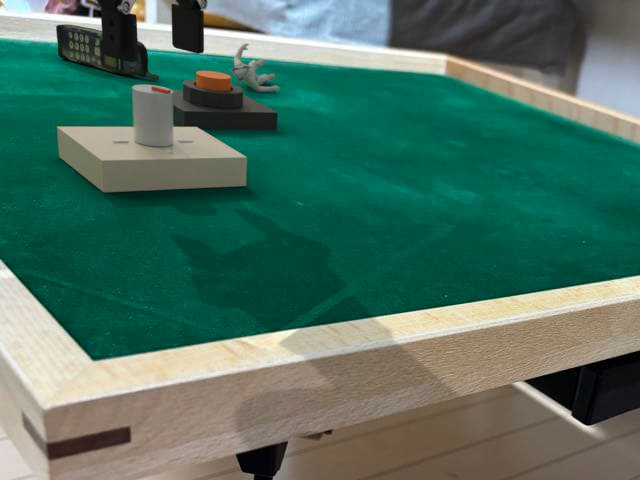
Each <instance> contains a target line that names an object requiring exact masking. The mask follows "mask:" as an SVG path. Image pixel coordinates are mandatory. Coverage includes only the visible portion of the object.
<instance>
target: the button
mask: <svg viewBox="0 0 640 480" xmlns="http://www.w3.org/2000/svg"><path fill="white" fill-rule="evenodd" d="M195 75H196V77H195V79H196V86H197V87H200V88H204V89H209V90H215V91H231V84H232V77H231V75H229V74H227V73H223V72H219V71H212V70H197V71H196V74H195Z"/></svg>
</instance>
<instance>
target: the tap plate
mask: <svg viewBox="0 0 640 480" xmlns="http://www.w3.org/2000/svg"><path fill="white" fill-rule="evenodd" d="M56 130H57V145H58V146H57V147H58V157H59V158H60V159H61V160H62V161H63V162H65V163H66V164H67V165H69V166H70V167H71V168H72V169H73V170H75V172H77V173H78V174H80V176H82V177H84V179H86V180H87V181H88V182H90V183H91V184H92V185H93V186H94V187H96V188H97V189H98V190H100V191H101V192H102V193H105V194H106V193H125V192H126V193H127V192H144V191H146V192H147V191H149V192H150V191H167V190H168V191H169V190H188V189H189V190H191V189H211V188H214V189H215V188H233V187H246V186H247V169H248V168H247V167H248V157H247V156H246V155H244V154H242V153H241V152H239V151H238V150H236V149H234V148H233V147H231V146H229V145H227V144H226V143H224V142H223V141H221V140H219V139H217V138H216V137H214V136H212V135H211V134H209V133H208V132H206V131H205V130H201V129H199V128H198V127H179V126H173V134H174V143H173V145H170V146H164V147H157V146H148V145H143V144H140V143H137V142H135V141H134V132H133V126H56Z"/></svg>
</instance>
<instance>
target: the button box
mask: <svg viewBox="0 0 640 480" xmlns="http://www.w3.org/2000/svg"><path fill="white" fill-rule="evenodd" d="M171 90H172V91H173V125H176V126H177V127H198V128H199V129H201V130H203V131H237V130H238V131H277V130H278V117H279V116H278V114H279V113H278V112H277V111H275V110H274V109H271V108H270V107H268V106H266V105H265V104H262V103H260V102H258V101H256V100H255V99H252V98H250V97H249V96H246V95H245V94H244V88H242V87H240V86H238V85H236V84H233V83H231V91H215V90H209V89H204V88H200V87H197V86H196V78H193V79H186V80H184V81H183V83H182V90H178V89H171Z"/></svg>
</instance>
